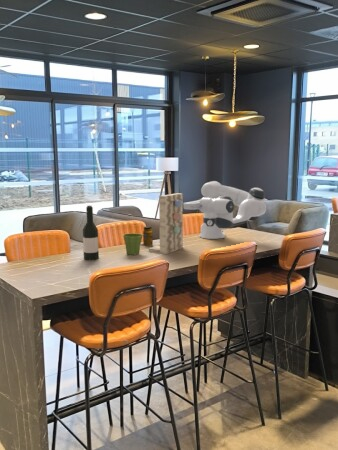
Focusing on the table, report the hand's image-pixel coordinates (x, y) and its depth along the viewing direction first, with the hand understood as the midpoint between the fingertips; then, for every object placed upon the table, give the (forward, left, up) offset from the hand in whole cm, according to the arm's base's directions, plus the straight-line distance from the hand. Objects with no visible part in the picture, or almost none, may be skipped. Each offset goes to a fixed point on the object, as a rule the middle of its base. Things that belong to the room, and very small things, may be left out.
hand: (184, 203), depth 257 cm
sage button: (-2, -7, -18) cm, 20 cm away
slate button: (-2, -6, -2) cm, 7 cm away
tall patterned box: (-3, -13, -29) cm, 32 cm away
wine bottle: (+31, -46, -29) cm, 62 cm away
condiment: (-12, -29, -29) cm, 43 cm away
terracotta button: (-2, -7, -10) cm, 13 cm away
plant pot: (+13, -28, -29) cm, 42 cm away
